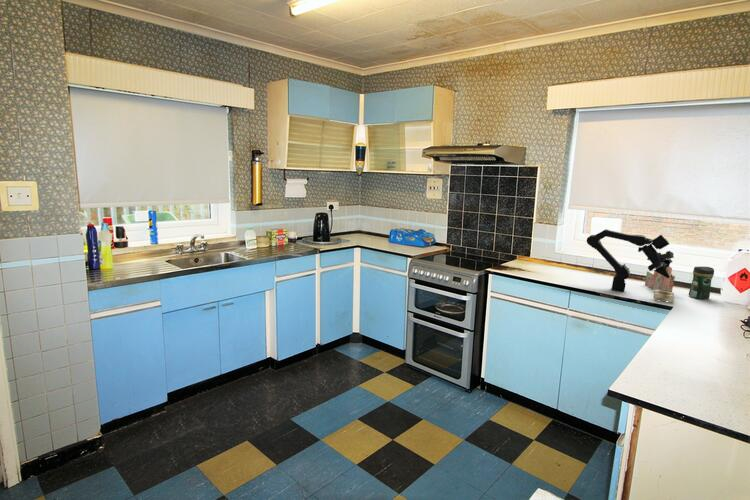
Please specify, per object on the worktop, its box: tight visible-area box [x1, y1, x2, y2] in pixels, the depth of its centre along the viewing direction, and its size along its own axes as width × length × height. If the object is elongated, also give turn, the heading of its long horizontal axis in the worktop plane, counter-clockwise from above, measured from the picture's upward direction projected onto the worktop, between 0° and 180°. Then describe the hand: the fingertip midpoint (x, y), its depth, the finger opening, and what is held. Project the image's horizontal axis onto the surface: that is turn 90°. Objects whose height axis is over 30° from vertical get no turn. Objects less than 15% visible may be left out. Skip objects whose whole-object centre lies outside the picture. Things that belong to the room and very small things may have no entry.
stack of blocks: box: [644, 270, 676, 292], centre depth 261 cm, size 21×6×12 cm, turn 170°
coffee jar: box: [688, 266, 715, 300], centre depth 248 cm, size 10×8×19 cm
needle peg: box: [662, 266, 673, 289], centre depth 240 cm, size 3×3×12 cm
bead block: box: [653, 290, 675, 303], centre depth 242 cm, size 9×9×4 cm
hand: (670, 277), depth 239 cm, fingers closed on needle peg, 3 cm apart
